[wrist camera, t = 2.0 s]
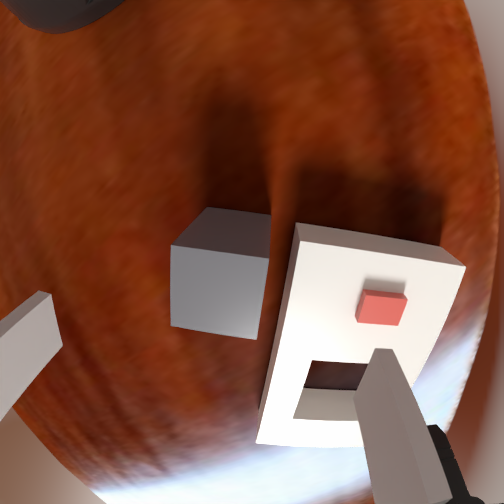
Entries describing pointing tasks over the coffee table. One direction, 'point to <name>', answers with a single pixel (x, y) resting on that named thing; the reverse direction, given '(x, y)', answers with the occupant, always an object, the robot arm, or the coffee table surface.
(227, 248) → the plug
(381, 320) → the socket plate
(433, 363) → the coffee table surface
